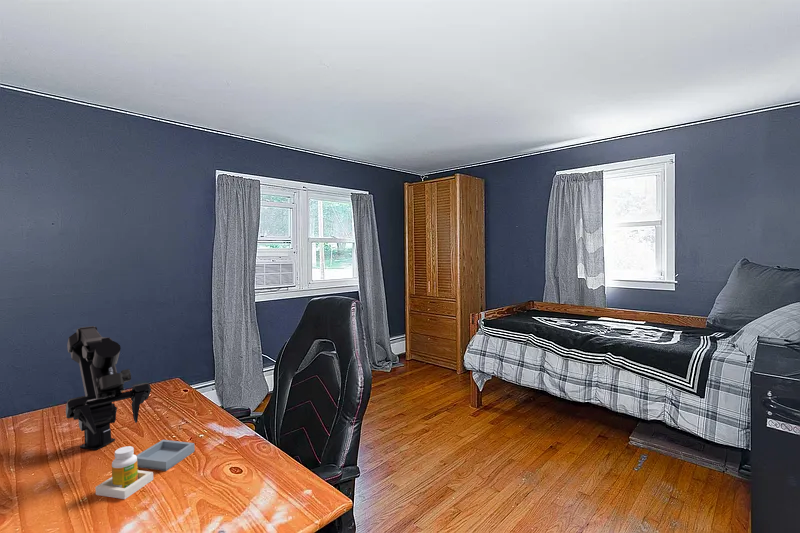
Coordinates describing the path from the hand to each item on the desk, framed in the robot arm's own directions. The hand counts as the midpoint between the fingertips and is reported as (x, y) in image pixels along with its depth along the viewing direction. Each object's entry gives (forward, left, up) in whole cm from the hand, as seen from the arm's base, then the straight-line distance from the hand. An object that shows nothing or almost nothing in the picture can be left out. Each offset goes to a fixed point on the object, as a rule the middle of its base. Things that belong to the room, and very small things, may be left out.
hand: (116, 427), depth 108 cm
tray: (+5, +10, -13) cm, 18 cm away
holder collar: (+6, -4, -13) cm, 15 cm away
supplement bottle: (+6, -4, -13) cm, 15 cm away
